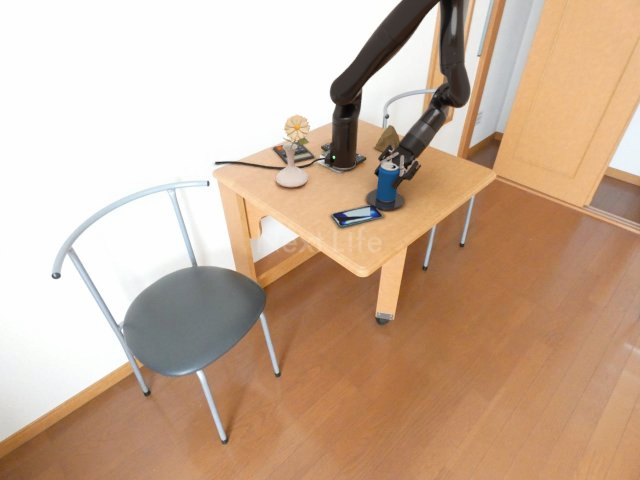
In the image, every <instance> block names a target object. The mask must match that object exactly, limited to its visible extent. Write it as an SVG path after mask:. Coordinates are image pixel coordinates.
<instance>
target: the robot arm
mask: <svg viewBox="0 0 640 480" xmlns="http://www.w3.org/2000/svg"><path fill="white" fill-rule="evenodd" d="M437 4H439V31H438V46H437V47H438V67H439V68H438V69H439V73H440V74H441V75H442V76H444V77H445V79H446V81H444V82H443V83H441V84H440V85H439V86H438V87H437V88H436V89H435V91H434V92H433V95H432V97H431V99H430V101H429V102H428V105H427V108H426V110H424V112H423V113H422V114H421V116H420V117H419V118H418V119H417V120H416V122H414V123H413V125H412V126H411V127H410V128H409V129H408V131H407V132H406V133H405V134H404V136H403V137H402V139H400V142H399V146H398V147H397V148H396V149H394V148H393V147H392V146H391V145H389V146H388V147H387V148H386V149H385V150H384V152H382V153H381V154H380V155H379V156H378V157H377V160H378V161H379V164H378V166H377V167H376V168H375V169H374V171H373V175H375V176H376V177H377V178H378V175H379V168H380V166H381V164H382V163H383V162H388V161H390V162H392V163H394V164H396V165H397V166H399V169H400V174H399V176H397V177H396V179H395V180H394V181H393V182H392V184H391V186H392V187H393V188H394V189H395V188H397V189H398V187H399V186H400V185H401V184H402V183H403V181H408V182H411V181H412V180H413V178H414V177H415V175H416V174H417V173H418V171H419V170H420V169H421V168H422V164H421V163H420V162H419V161H418V160H416V159H418V158H419V157H420V156H421V155H422V154H423V152H424V151H425V150H426V149H427V147H428V146H429V145H430V144H431V142H432V141H433V139H434V138H435V136H436V135H437V133H439V131H440V130H441V128H442V127H443V126H444V125H445V123H446V122H447V120H448V119H447V117H448V116H447V114H446V113H445V111H446V110H447V108H448V107H449V108H454V109H461V108H463V107H465V106H466V105H467V104H468V102H469V100H470V97H471V93H472V92H471V91H472V90H471V89H472V88H471V83H470V78H469V75H468V71H467V69H466V68H467V67H466V60H465V59H466V53H465V52H466V47H465V44H466V43H465V25H464V24H465V22H464V21H465V20H464V18H465V17H464V15H465V14H464V9H465V0H400V1H399V2H398V3H397V4H396V5H395V7H393V8H392V10H391V11H390V12H389V13H388V14H387V15H386V16H385V18H384V19H383V20H382V21H381V23H380V24H379V25H378V26H377V27H376V28H375V29H374V31H373V32H372V34H371V35H370V36H369V37H368V39H367V41H365V43H364V44H363V46H362V48H361V49H360V50H359V52H358V54H357V55H356V57H355V58H354V59H353V61H352V62H351V63H350V64H349V65H348V66H347V67H346V68H345V69H344V70H343V72H341V73H340V74H339V75H338V76H337V77H336V78H335V79H334V80H333V81H332V82H331V85H330V87H329V97H330V100H331V101H332V103H333V104H335V105H334V109H333V112H332V115H331V116H332V117H331V142H330V143H329V152H327V154H326V156H324V157H320V158H319V157H318V158H316V159H314V160H312V161H311V162H310V163H307V164H303V165H295V166H296V167H298V168H300V169H302V168H307V167H309V166H312V165H314V164H315V163H316V162H319V161H324V162H323V163H324V165H329V167H330V168H333V169H334V170H336V171H340V172H348V171H352V170H354V169H355V168H356V166H357V146H358V145H357V144H358V133H359V132H358V131H359V130H358V129H359V118H360V114H361V111H362V110H361V109H362V100H363V88H364V86H365V85H366V84H367V83H368V81H369V80H370V79H371V78H373V76H374V75H376V74H377V73H378V72H379V71H381V69H382V68H384V67H385V66H386V65H387V64H388V63H389V62H390V61H391V60H393V58H394V57H395V56H397V54H398V53H399V52H400V51H401V50H402V48H404V47H405V45H406V44H407V43H408V42H409V41H410V39H411V38H412V37H413V35H415V32H416V31H418V28H419V27H420V25H421V24H422V22H423V21H424V20H425V18H426V16H427V15H428V14H429V12H431V11H432V9H433V8H434V7H435V6H436V5H437ZM214 163H215V164H217V165H218V164H237V165H238V164H240V165H246V166H252V167H258V168H259V167H260V168H265V169H273V170H274V169H275V170H283V169H284V168H286V167H287V166H273V165H271V166H270V165H263V164H258V163H251V162H245V161H244V162H243V161H233V160H230V161H229V160H225V161H224V160H223V161H222V160H221V161H215V162H214Z"/></svg>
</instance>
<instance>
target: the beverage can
mask: <svg viewBox="0 0 640 480" xmlns="http://www.w3.org/2000/svg"><path fill="white" fill-rule="evenodd" d="M399 174H400V169H399V166H397V165H396V164H394V163H392V162H390V161H388V162H383V163H382V164H381V166H380V168H379V175H378V177H377V183H376V184H377V185H376V189H377V193H376V197H377V198H378V199H379V200H380V201H382V202H391V201H393V200H395V199H396V194H397V192H398V187H397V188H395V189H394V188H393V187H392V186H391V184H392V182H393V181H394V180H395V179H396V177H397V176H399Z"/></svg>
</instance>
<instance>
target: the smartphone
mask: <svg viewBox="0 0 640 480" xmlns="http://www.w3.org/2000/svg"><path fill="white" fill-rule="evenodd" d="M331 218H332V219H333V220H334V222H335V223H336V224H337V226H338V227H339V228H340V229H345V228H348V227H353V226H356V225H360V224H364V223H368V222H372V221H376V220H380V219H383V218H384V215H383V213H381V211H380V210H378V209H376V208H374V207H372V206H371V205H369V204H368V205H364V206H360V207H355V208H351V209H347V210H342V211H337V212H333V213H331Z"/></svg>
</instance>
